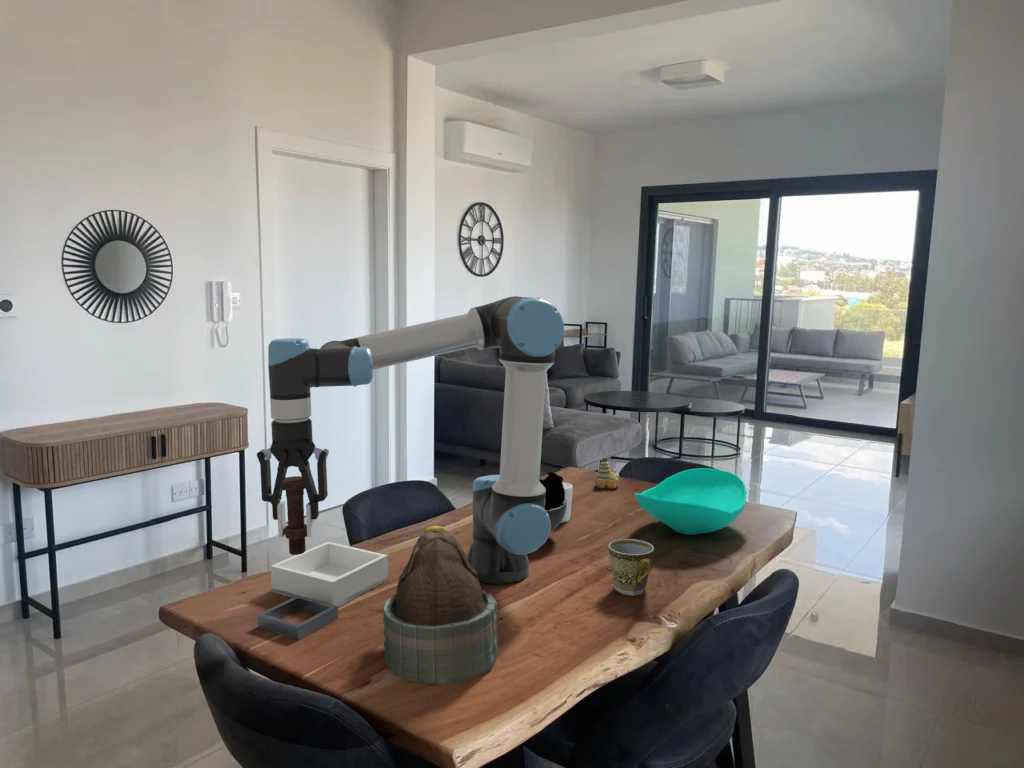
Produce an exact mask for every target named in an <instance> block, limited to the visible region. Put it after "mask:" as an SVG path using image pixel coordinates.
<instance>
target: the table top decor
mask: <svg viewBox="0 0 1024 768" xmlns="http://www.w3.org/2000/svg"><path fill="white" fill-rule="evenodd" d="M747 492H748V491H747V488H746V484H745V482H744V481H743V480H742V479H741V478H740V476H739V475H737V474H735V473H732V472H730V471H727V470H722V469H719V468H718V469H717V468H707V467H705V468H703V467H700V468H692V469H686V470H683V471H679V472H677V473H675V474H673V475H671V476H669V477H666V478H664V480H662V481H661V482H659V483H658V484H657V485H656V486H654V487H651V488H649V489H646V490H644V491H643V492H641V493H638V492H635V493H634V496H635V499H636V500H635V501H636V502H637V503H638V505H640V507H641V508H642V509H643V510H645V512H647V513H649V514H650V515H651V516H652V517H653V518H655V519H657V520H658V521H660V522H662V523H663V524H664V525H666V526H667V527H669V528H670V529H672V530H674V531H675V532H676V533H678V534H683V535H688V536H689V535H690V536H691V535H692V536H695V535H696V536H697V535H700V534H707V533H708V534H710V533H712V532H716V531H719V530H721V529H724V528H726V527H728V526H729V525H731V524H732V523H733V522H734V521H735V520H736V519H737V518H738V517H739V516H740V514H741V513H742V512H743V511H744V509H745V507H746V503H747V494H748V493H747Z"/></svg>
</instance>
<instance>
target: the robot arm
mask: <svg viewBox="0 0 1024 768" xmlns="http://www.w3.org/2000/svg"><path fill="white" fill-rule="evenodd" d="M564 334H565V323H564V320H563V317H562V314H561V313H560V311H559V310H558V309H557V307H556V306H554V304H553V303H551V302H549V301H547V300H545V299H542V298H540V297H534V296H529V297H528V296H517V295H513V296H508V297H505V298H501V299H499V300H496V301H493V302H490V303H487V304H483V305H480V306H474V307H471V308H469V310H468V312H467V313H464V314H459V315H455V316H450V317H446V318H442V319H436V320H432V321H427V322H422V323H418V324H413V325H409V326H404V327H399V328H394V329H389V330H385V331H381V332H380V331H379V332H376V333H371V334H370V333H369V334H366V335H362V336H357V337H355V338H354V337H353V338H349V339H345V340H332V341H328V342H325V343H324V344H322V346H320V348H311V347H310V346H309V341H308V340H307V339H305V338H300V337H299V338H295V337H294V338H293V337H292V338H288V337H287V338H278V339H277V338H275V339H273V340H271V341H270V342H269V343H268V345H267V350H268V351H267V352H268V353H267V355H268V356H267V360H268V362H267V366H268V383H269V397H270V398H269V400H270V401H269V403H270V418H271V419H272V421H271V424H270V425H271V441H272V442H271V445H270V447H269V448H267V449H263V448H262V449H261V450H259V452H257V453H256V457H257V459H258V462H259V465H260V466H259V467H260V468H259V469H260V485H261V486H260V488H261V489H260V491H261V501H262V502H267V503H270V504H271V505H272V506H271V507H272V508H271V509H272V518H273V520H274V521H276V520H277V531H278V534H277V535H278V538H283V537H284V536H285V527H286V526H287V518H286V516H287V512H286V500H282V498H283V497H282V495H283V491H284V490H281V481H283V480H284V479H285V478H286V477H287V473H288V469H289V468H291V467H294V468H298V471H299V473H300V475H301V476H302V479H303V481H304V482H305V491H306V494H307V499H308V502H307V503H306V504H305V513H306V514H305V515H306V519H305V520H306V524H307V537H306V538H312V537H313V535H314V534H315V520H317V519H318V518H319V515H320V513H319V512H320V509H319V503H320V502H324V501H325V500H326V498H327V497H328V475H327V473H328V472H327V471H328V470H327V459H328V457H329V454H330V453H329V452H330V451H329V449H327V448H324V449H322V448H318V447H316V444H315V442H314V440H313V421H312V420H311V418H310V417H311V416H312V401H311V399H312V398H311V397H312V396H311V395H312V394H311V388H322V387H323V388H326V387H327V388H329V387H352V386H353V387H357V386H364V385H365V386H366V385H369V384H370V383H372V381H373V377H374V370H378V369H382V368H386V367H392V366H395V365H396V366H397V365H400V364H404V363H408V362H413V361H417V360H422V359H427V358H431V357H435V356H439V355H445V354H449V353H454V352H459V351H462V350H466V349H471V348H476V349H477V350H479V351H484V350H487V349H494V348H495V349H496V348H499V357H498V358H499V359H498V361H499V362H500V363H501V364H502V365H503V367H504V368H505V376H504V377H505V379H504V380H505V381H504V394H503V395H504V397H503V412H502V430H501V443H500V444H501V449H500V463H499V474H490V475H484V476H480V477H479V476H478V477H476V478H475V479H474V480H473V483H472V491H471V494H472V541H471V544H470V547H469V551H468V554H467V556H466V558H467V559H468V561H469V563H470V564H471V566H472V567H473V568H474V569H475V570H476V571H477V574H478V576H477V577H478V579H479V582H480V583H485V584H499V585H500V584H510V583H515V582H518V581H521V580H523V579H525V578H527V577H528V575H529V574H530V571H531V570H530V569H531V568H530V566H531V565H530V563H531V562H530V559H529V558H528V554H531V553H534V552H535V551H537V550H539V548H541V547H542V546H543V545H544V544H545V543H546V542H547V540H548V538H549V536H550V534H551V533H550V530H551V521H550V518H549V515H548V513H547V511H546V510H545V494H546V489H545V487H544V486H543V485H542V484H541V483H540V481H539V479H540V476H541V474H540V473H541V460H542V459H541V457H542V445H543V444H542V443H543V442H542V441H543V428H544V427H543V426H544V413H545V412H544V410H545V398H546V396H545V395H546V383H547V381H546V380H547V372H548V370H549V369H550V368H551V367H552V366H553V365H554V364H555V354H556V350H557V349H558V347H559V346H560V345H561V343H562V341H563V338H564ZM313 455H314V458H315V460H317V462H316V468H317V469H316V470H317V472H316V473H317V488H316V485H315V481H314V480H315V479H314V478H313V474H312V470H311V465H310V461H309V459H310V458H311V457H312V456H313ZM272 456H273V457H274V458H275V459H276V460H277V462H278V464H277V470H276V471H277V472H276V477H275V481H274V487H273V490H272V470H271V458H272Z"/></svg>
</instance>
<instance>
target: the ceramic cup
mask: <svg viewBox="0 0 1024 768" xmlns="http://www.w3.org/2000/svg"><path fill="white" fill-rule="evenodd" d="M654 552H655V547H654V545H653V544H652V543H649V542H647V541H644V540H641V539H640V540H639V539H634V538H633V539H632V538H624V539H617V540H613V541H611V542H610V543H609V544H608V553H609V554H608V555H609V561H610V566H611V573H612V579H613V585H614V586H613V587H614V589H615V591H617V592H618V593H619V594H621V595H626V596H631V597H635V596H639V595H644V592H645V590H646V587H647V584H648V578H649V574H651V572H652V571H653V563H652V562H653V558H654Z"/></svg>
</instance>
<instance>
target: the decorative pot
mask: <svg viewBox="0 0 1024 768" xmlns="http://www.w3.org/2000/svg"><path fill="white" fill-rule="evenodd" d="M477 576H478V574H477V571H476V570H475V569H474V568H473V567H472V566H471V564H470V563H469V561H468V559H467V556H466V552H465V551H464V550H463V548H462V545H461V544H460V543H459V541H458V540H457V539H456V537H455V536H453V534H451V532H449V531H448V530H447V529H446V528H445V527H443V526H439V525H431V526H429V527H426V528H425V529H424V532H423V534H421V535H420V536H419V537H418V538H417V540H416V542H415V544H414V546H413V549H412V551H411V554H410V558H409V559H408V561H407V563H406V565H405V567H404V569H403V571H402V572H401V574H400V575H399V578H398V582H397V586H396V593H395V594H393V595H392V596H390V597H389V598H388V599H386V601H385V604H384V605H383V608H382V612H383V613H382V614H383V618H382V619H383V628H384V629H383V635H384V642H383V647H384V650H385V651H384V659H385V663H386V667H387V668H388V670H390V671H391V672H392V673H393V675H396V676H397V677H401V678H403V679H405V680H407V681H409V682H417V683H418V684H419V683H420V684H427V685H429V684H430V685H434V684H435V685H448V684H453V683H462V682H465V681H468V680H472V679H476V678H477V677H480V676H482V675H485V673H488V672H489V671H490V670H491V669H492V667H493V665H494V664H495V662H496V659H497V657H498V655H499V647H498V632H497V631H498V623H497V622H498V621H497V610H498V602H497V600H496V599H495V597H493V595H492V594H490V593H489V592H488V593H486V591H485V590H482V587H481V585H480V584H481V582H479V579H478V577H477ZM487 671H488V672H487Z"/></svg>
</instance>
